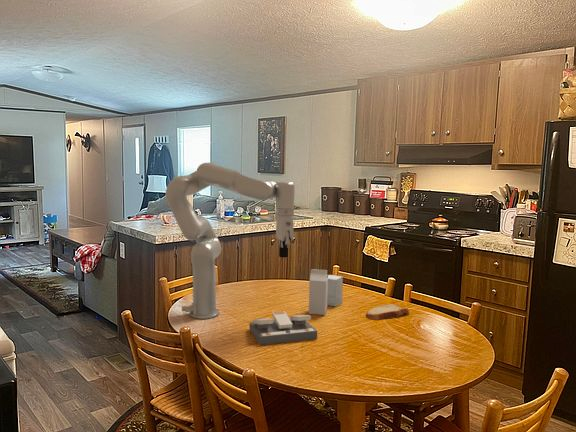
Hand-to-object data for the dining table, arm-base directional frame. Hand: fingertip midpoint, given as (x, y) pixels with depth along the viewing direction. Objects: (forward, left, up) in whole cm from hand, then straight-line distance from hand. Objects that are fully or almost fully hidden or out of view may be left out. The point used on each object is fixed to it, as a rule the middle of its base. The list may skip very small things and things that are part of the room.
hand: (283, 256), depth 199 cm
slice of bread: (+46, -6, -27) cm, 54 cm away
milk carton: (+18, +5, -27) cm, 33 cm away
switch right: (+3, -15, -21) cm, 26 cm away
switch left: (-12, -15, -21) cm, 29 cm away
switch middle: (-5, -15, -21) cm, 26 cm away
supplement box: (+29, +15, -27) cm, 42 cm away
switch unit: (-5, -16, -27) cm, 31 cm away
